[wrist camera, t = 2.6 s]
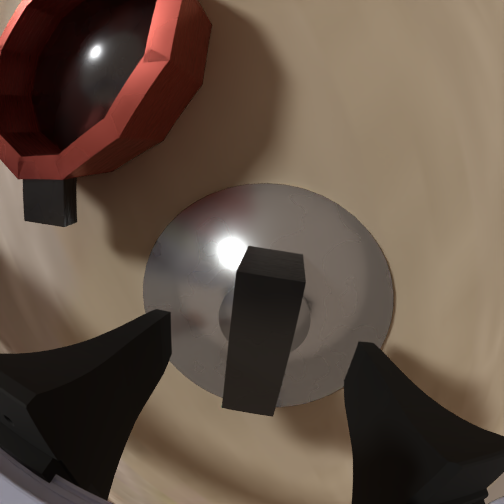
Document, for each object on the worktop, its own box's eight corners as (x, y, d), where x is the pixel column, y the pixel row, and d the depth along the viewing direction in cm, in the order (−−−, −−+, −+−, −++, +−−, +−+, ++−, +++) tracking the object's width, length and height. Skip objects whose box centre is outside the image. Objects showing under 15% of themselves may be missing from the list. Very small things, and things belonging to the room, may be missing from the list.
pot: (189, 219, 12) (154, 242, 9) (24, 201, 13) (-20, 215, 10) (230, -60, 8) (214, -101, 4) (61, -19, 9) (26, -36, 5)
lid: (348, 407, 15) (355, 453, 12) (154, 374, 16) (130, 414, 13) (417, 209, 11) (455, 228, 8) (152, 168, 12) (108, 174, 9)
